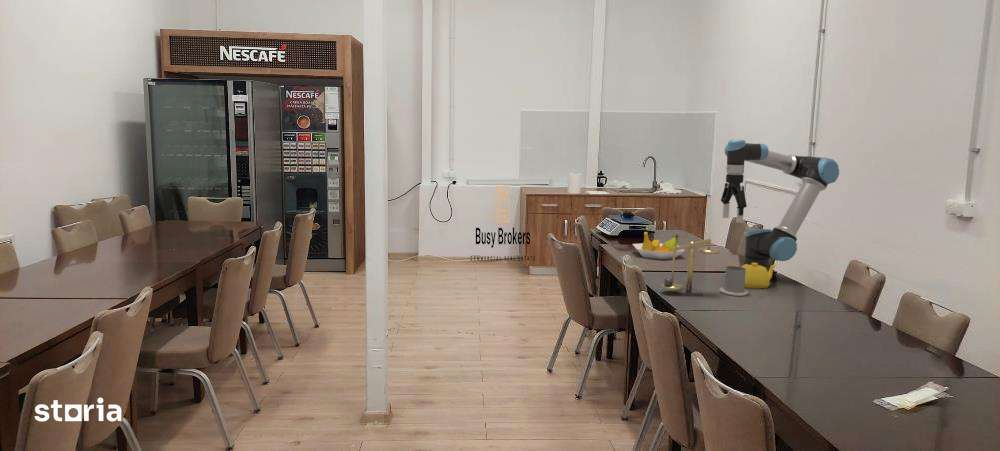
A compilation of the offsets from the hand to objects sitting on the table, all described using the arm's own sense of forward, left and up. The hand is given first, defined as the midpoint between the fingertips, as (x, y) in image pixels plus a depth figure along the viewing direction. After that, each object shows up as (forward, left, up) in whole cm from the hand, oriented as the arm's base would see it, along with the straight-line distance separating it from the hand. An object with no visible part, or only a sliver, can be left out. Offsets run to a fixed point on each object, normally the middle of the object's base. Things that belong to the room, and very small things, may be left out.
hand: (732, 220), depth 325 cm
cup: (+4, +17, -29) cm, 34 cm away
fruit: (+12, -65, -30) cm, 73 cm away
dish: (+4, +17, -30) cm, 35 cm away
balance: (+25, +18, -30) cm, 43 cm away
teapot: (-11, +2, -30) cm, 32 cm away
